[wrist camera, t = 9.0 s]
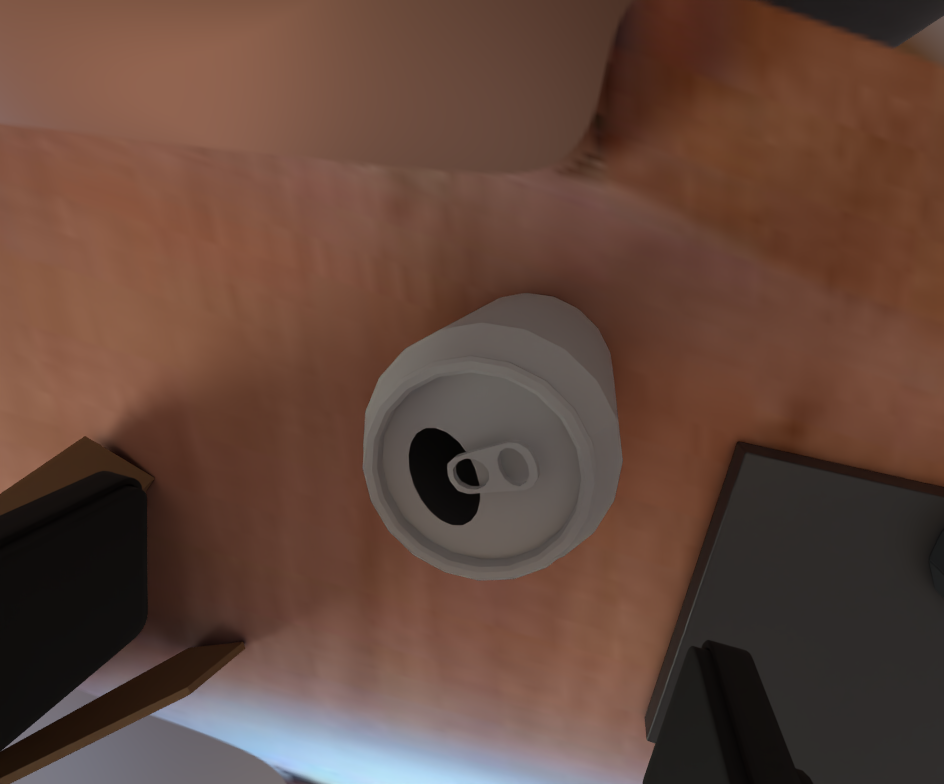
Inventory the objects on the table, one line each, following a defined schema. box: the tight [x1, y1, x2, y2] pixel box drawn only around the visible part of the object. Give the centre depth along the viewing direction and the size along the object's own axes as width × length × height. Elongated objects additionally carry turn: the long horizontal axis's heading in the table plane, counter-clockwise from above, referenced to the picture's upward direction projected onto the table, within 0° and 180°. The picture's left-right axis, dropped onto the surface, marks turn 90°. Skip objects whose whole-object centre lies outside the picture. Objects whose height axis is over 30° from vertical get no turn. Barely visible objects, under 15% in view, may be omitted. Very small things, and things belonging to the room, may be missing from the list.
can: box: [363, 293, 623, 581], centre depth 19 cm, size 8×8×12 cm
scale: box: [645, 442, 944, 784], centre depth 23 cm, size 17×13×3 cm
